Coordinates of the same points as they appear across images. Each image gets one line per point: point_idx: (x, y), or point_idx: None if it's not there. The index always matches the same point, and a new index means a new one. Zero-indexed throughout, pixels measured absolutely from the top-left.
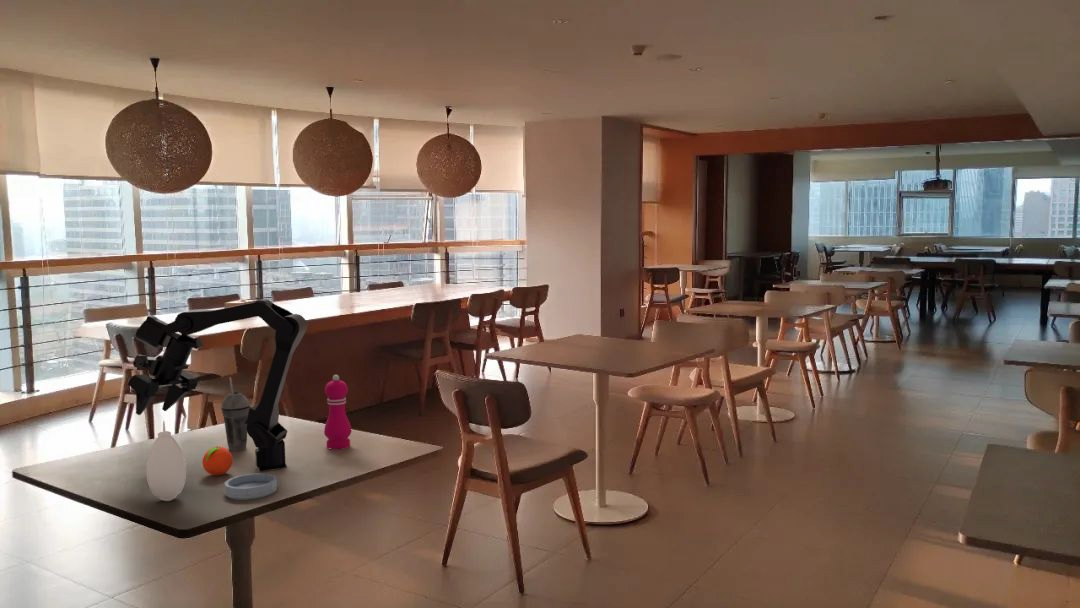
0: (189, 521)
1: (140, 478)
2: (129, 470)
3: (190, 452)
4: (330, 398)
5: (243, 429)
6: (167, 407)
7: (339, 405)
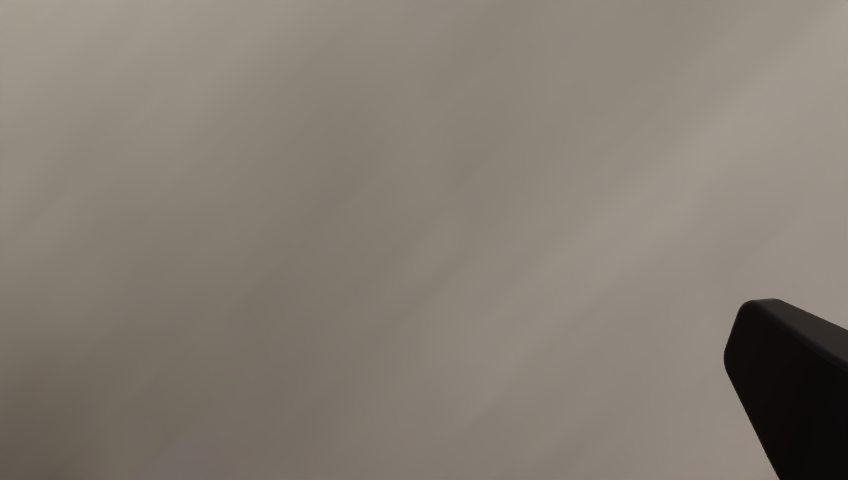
0: None
1: (40, 353)
2: (206, 73)
3: (793, 202)
4: None
5: None
6: (767, 444)
7: None
